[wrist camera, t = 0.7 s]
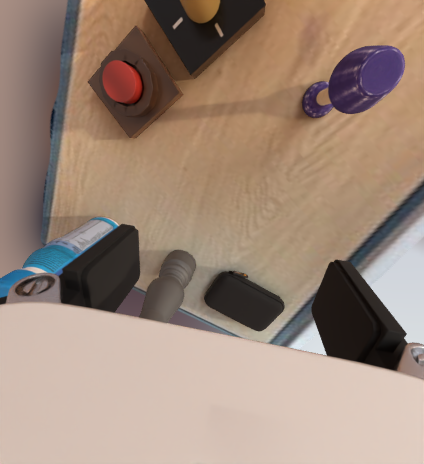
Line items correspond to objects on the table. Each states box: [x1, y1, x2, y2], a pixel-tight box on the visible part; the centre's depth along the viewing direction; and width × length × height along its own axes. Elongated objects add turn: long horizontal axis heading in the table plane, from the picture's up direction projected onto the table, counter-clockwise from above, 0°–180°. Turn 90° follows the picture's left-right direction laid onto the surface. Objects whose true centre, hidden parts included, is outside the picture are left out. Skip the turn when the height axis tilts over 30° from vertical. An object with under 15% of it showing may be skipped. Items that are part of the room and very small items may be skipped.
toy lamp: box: [302, 46, 405, 118], centre depth 22 cm, size 5×5×17 cm
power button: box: [103, 60, 143, 104], centre depth 28 cm, size 4×4×2 cm
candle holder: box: [139, 250, 196, 323], centre depth 33 cm, size 6×6×25 cm
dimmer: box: [145, 0, 266, 79], centre depth 26 cm, size 11×10×3 cm
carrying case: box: [204, 271, 284, 331], centre depth 44 cm, size 11×3×15 cm
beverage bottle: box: [0, 217, 119, 298], centre depth 35 cm, size 8×8×20 cm
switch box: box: [88, 26, 183, 138], centre depth 30 cm, size 10×9×4 cm
